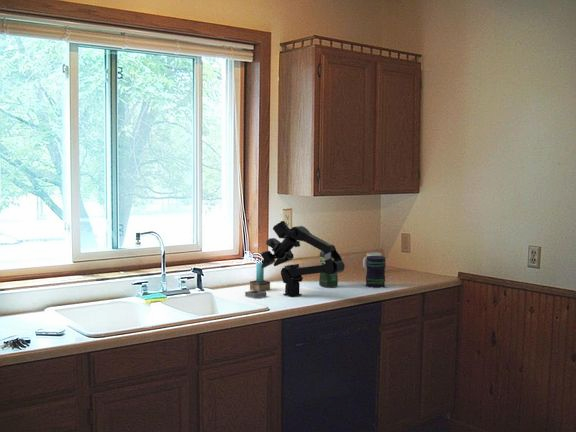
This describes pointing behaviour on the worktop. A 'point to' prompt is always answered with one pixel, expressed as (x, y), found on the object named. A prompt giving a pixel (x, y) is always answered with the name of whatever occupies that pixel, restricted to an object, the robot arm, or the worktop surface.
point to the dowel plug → (259, 273)
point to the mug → (370, 255)
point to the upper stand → (260, 285)
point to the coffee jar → (327, 275)
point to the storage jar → (375, 271)
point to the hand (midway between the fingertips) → (268, 266)
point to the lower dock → (255, 294)
